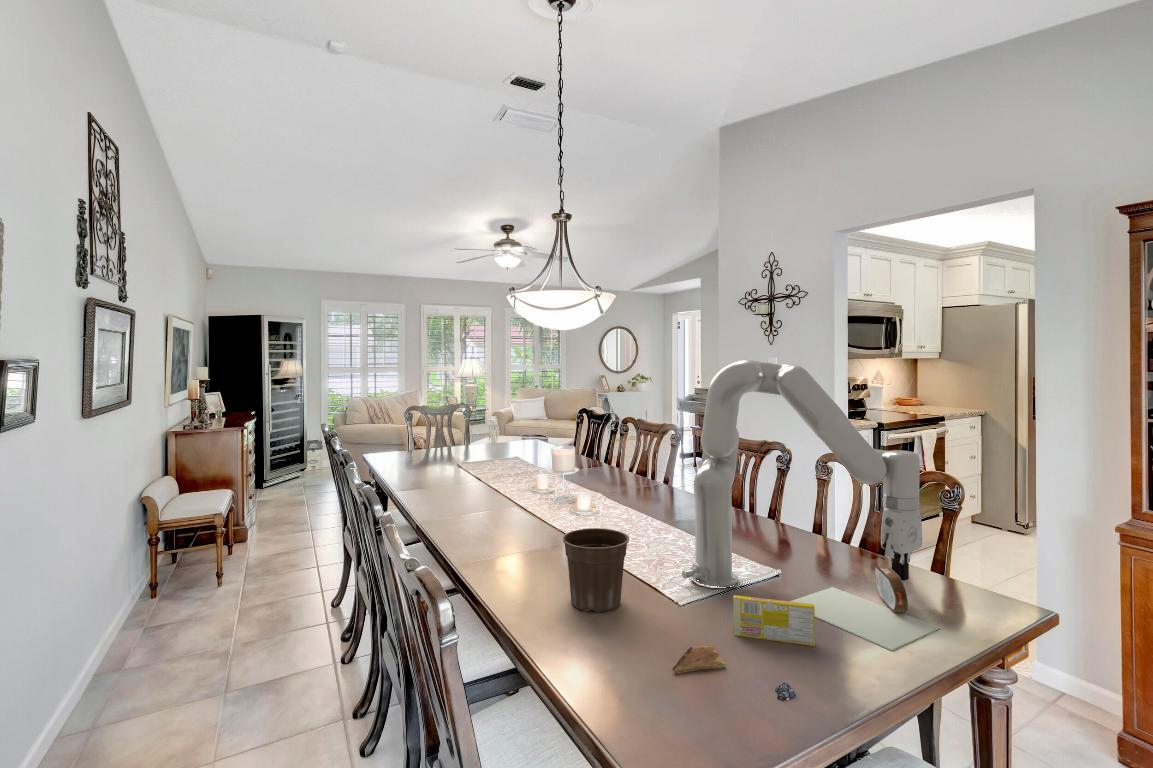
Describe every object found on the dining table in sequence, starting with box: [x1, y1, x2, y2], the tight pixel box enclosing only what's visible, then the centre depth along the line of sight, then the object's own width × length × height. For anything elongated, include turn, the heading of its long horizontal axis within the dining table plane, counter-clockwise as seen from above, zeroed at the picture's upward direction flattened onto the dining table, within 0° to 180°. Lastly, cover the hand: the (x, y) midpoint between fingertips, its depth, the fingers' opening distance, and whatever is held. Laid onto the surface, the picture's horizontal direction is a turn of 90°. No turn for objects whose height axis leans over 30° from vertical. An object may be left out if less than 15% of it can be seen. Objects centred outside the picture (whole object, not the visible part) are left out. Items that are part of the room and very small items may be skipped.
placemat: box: [790, 586, 941, 652], centre depth 129 cm, size 18×26×1 cm
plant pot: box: [562, 527, 630, 613], centre depth 138 cm, size 16×16×16 cm
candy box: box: [732, 594, 816, 647], centre depth 119 cm, size 16×2×8 cm, turn 71°
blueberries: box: [764, 682, 796, 702], centre depth 100 cm, size 7×8×2 cm
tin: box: [873, 564, 909, 613], centre depth 134 cm, size 15×3×8 cm, turn 168°
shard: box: [671, 645, 726, 674], centre depth 111 cm, size 11×8×2 cm
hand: (899, 578), depth 135 cm, fingers closed
